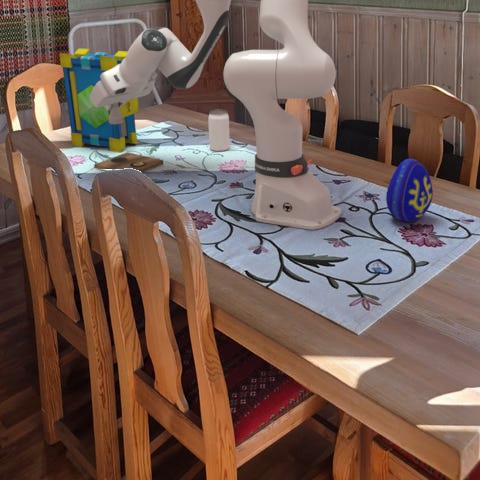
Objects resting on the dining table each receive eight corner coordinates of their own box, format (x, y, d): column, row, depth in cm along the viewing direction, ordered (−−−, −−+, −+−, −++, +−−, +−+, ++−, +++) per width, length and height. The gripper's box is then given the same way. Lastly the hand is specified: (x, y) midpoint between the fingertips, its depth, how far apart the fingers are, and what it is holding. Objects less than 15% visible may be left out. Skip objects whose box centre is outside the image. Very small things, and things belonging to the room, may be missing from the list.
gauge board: (163, 163, 207) (162, 159, 207) (130, 177, 197) (130, 172, 197) (127, 155, 215) (127, 152, 215) (94, 168, 205) (93, 164, 205)
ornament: (405, 231, 158) (410, 169, 152) (376, 219, 165) (379, 159, 158) (436, 219, 164) (442, 159, 157) (407, 208, 170) (411, 149, 164)
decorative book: (119, 154, 217) (109, 58, 204) (63, 146, 227) (50, 53, 214) (145, 142, 228) (137, 50, 216) (90, 135, 238) (80, 46, 226)
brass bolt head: (145, 163, 204) (145, 162, 204) (138, 166, 202) (138, 165, 201) (138, 162, 205) (138, 161, 205) (131, 164, 203) (131, 163, 203)
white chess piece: (121, 124, 201) (118, 97, 198) (106, 124, 202) (103, 97, 198) (125, 120, 205) (123, 94, 202) (111, 120, 206) (108, 93, 202)
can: (233, 147, 220) (232, 110, 215) (222, 152, 216) (221, 115, 211) (217, 144, 224) (215, 108, 219) (205, 150, 219) (203, 113, 214)
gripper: (153, 62, 199) (135, 91, 209) (96, 74, 185) (79, 104, 195) (165, 79, 198) (145, 108, 208) (108, 92, 184) (91, 122, 195)
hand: (113, 106), depth 202 cm, fingers closed on white chess piece, 3 cm apart
